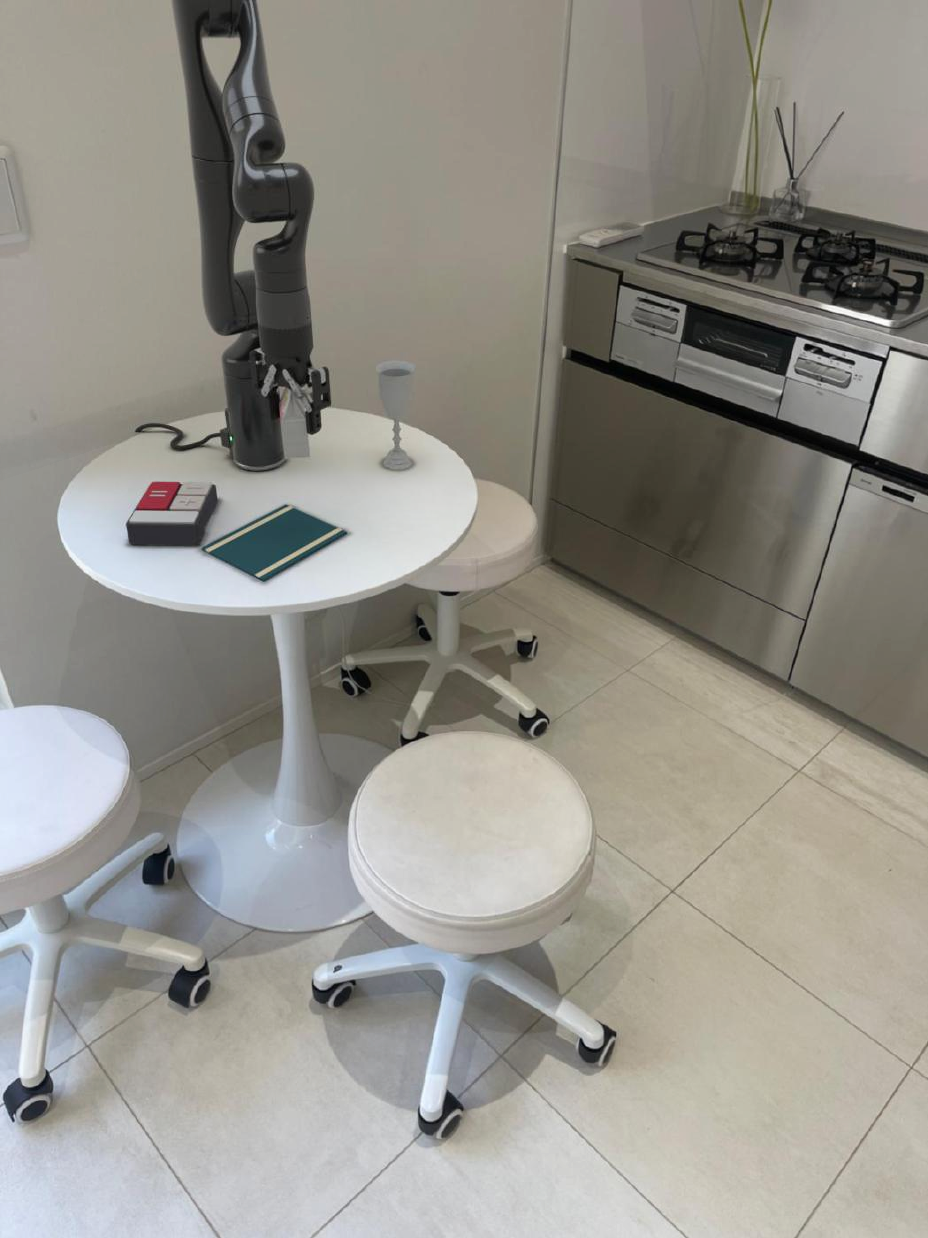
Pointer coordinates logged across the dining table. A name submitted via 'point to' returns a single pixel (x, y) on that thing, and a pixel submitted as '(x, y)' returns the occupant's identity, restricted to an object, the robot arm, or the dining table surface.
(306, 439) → the white gable top carton
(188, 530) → the calculator
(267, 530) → the cloth
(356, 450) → the dining table surface
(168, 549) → the dining table surface
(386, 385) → the chalice
